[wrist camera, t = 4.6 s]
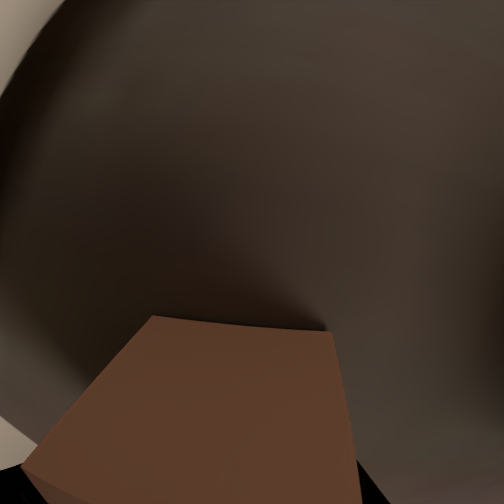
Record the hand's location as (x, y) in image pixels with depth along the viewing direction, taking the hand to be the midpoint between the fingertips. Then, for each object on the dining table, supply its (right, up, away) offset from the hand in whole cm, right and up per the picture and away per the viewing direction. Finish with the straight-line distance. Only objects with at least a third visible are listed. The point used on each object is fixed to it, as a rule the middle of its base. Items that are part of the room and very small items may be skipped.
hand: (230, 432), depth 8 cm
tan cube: (0, 0, +1) cm, 1 cm away
